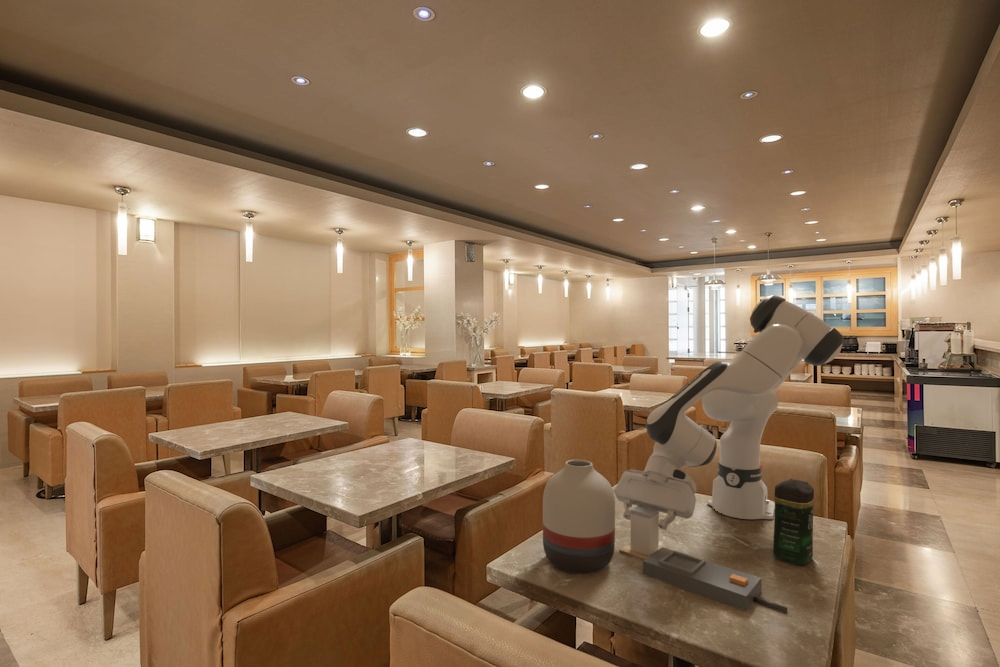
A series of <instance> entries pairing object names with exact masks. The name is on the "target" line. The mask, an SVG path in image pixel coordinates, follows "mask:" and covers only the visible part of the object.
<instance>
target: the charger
mask: <svg viewBox="0 0 1000 667" xmlns="http://www.w3.org/2000/svg"><path fill="white" fill-rule="evenodd" d="M630 511H631V520H630V543H631V550H633V551H636V552H639V553H642V554H645V555H648V556H650V555H651V554H653V553H654V552H655V551H657V550H658V546H659V545H660V544H659V539H660V538H659V529H660V527H659V526H658V524H659V523H660V522H659V521H660V518H659V517H660V516H659V514H660V511H659V509H656V508H652V507H648V506H644V505H638V506H637V505H636V506H634V507H633V508H631V509H630Z"/></svg>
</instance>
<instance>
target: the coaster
mask: <svg viewBox="0 0 1000 667" xmlns="http://www.w3.org/2000/svg"><path fill="white" fill-rule="evenodd" d="M662 547H663V548H665V547H664V546H661V545H658V550H659V549H660V548H662ZM666 548H667V547H666ZM667 549H669V548H667ZM655 552H656V551H655ZM655 552H654V553H655ZM619 553H620V554H624V555H626V556H629V557H633V558H635V559H638V560H641V561H643V560H645V559H646V558H648V557H649V556H648V555H645V554H642V553H639V552H636V551H633V550H631V542H630V543H627V544H626V545H624V546H622V547H621V548H619ZM651 555H652V554H651Z"/></svg>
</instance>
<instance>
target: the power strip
mask: <svg viewBox="0 0 1000 667" xmlns="http://www.w3.org/2000/svg"><path fill="white" fill-rule="evenodd" d="M661 547H662V548H660V549H659V550H657V551H656V552H655V553H653V554H652V555H650V556H649V557H648V558H646V559H645V560H642V575H643V574H644V576H646V575H647V577H650V578H653V579H655V580H657V581H661V582H663V583H665V584H669V585H672V586H674V587H677V588H681V589H683V590H685V591H688V592H691V593H694V594H697V595H700V596H702V597H706V598H708V599H711V600H714V601H716V602H719V603H722V604H724V605H728V606H730V607H733V608H736V609H739V610H740V611H741V610H742V611H744V612H747V611H748V610H749V609H750V607H751V606H752V605H753V603H757V604H759V605H762V606H766V607H768V608H771V609H774V610H777V611H780V612H783V613H788V611H789V610H788V607H786V606H785V605H784V606H783V605H780V604H777V603H775V602H772V601H769V600H766V599H764V598H761V597H759V596H760V594H761V593H762V577H759V576H756V575H753V574H749V573H747V572H743V571H740V570H737V569H733V568H730V567H728V566H724V565H722V564H719V563H718V564H717V563H714V562H711V561H708V560H706V559H702V558H699V557H695V556H694V555H693V556H692V555H689V554H686V553H683V552H680V551H676V550H672V549H670V548H668V549H667V547H664V546H661ZM663 547H664V548H663Z"/></svg>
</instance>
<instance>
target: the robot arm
mask: <svg viewBox="0 0 1000 667" xmlns="http://www.w3.org/2000/svg"><path fill="white" fill-rule="evenodd" d="M749 322H750V325H751V327H752V329H753V333H754V334H756V335H755V336H754V337H753V338H752V339H751V340H750V341H749V342H748V343H747V344H746V345H745V346H744V347H743V348H742V350H741V351H740V352H739V353H738V354H737V355H736V356H734V357H733V358H730V359H728V360H725V361H716V362H713V363H712V364H710V365H709V366H707V367H706V368H705V369H703V370H701V371H700V372H699V373H698V374H697V375H696V376H694V377H693V378H692V379H691V380H690V381H688V382H687V383H686V384H685V385H684V386H682V387H681V388H680V389H679V390H678V391H677V392H675V393H674V394H673V395H672V396H671V397H670V398H668V399H667V400H665V401H664V402H662V403H660V404H659V405H658V406H657V407H655V408H654V409H653V410H652V411H651V412H650V413H649V414H648V416H647V417H646V420H645V428H646V432H647V435H648V437H649V439H651V440H652V441H654V442H655V443H654V444H653V452H652V454H651V455H650V456H649V458H648V460H647V462H646V465H645V468H644V470H643V471H642V470H638V469H637V470H635V469H634V468H629V469H628V470H625V471H624V472H623V473H622V475H621V477H620V479H619V480H618V483H617V485H616V487H615V489H614V490H613V492H614V496H615V498H616V499H617V500H618V501H619V502H622V503H623V506H624V512H623V515H622V516H623V518H624V519H625V520H629V521H631V509H630V508H632V507H633V505H634V506H636V507H637V506H638V505H644V506H648V507H652V508H656V509H659V513H663V514H667V516H666V517H665V518H664V519H660V518H659V524H658V526H659V529H661V530H664V531H667V528H668V526H669V524H671V523H672V522H673V521H675V520H676V516H677V517H679V518H683V519H690V518H691V517H693V515H694V511H695V507H696V503H697V498H696V496H695V494H696V493H697V489H698V488H697V485H696V483H695V481H694V479H693V477H692V476H691V475H690V473H688V472H686V471H683V469H684V467H687V468H692V467H693V468H695V467H696V468H697V467H702V466H703V467H704V466H705V465H709V464H710V463H711V462H712V460H713V459H714V458H715V455H716V452H717V449H718V448H717V445H718V444H717V439H716V437H715V436H714V435H713V434H712V433H711V432H709V431H708V430H707V429H705V428H704V427H703V426H702V425H700V424H698V423H697V422H695V421H694V420H692V419H691V418H690V417H689V416H687V415H686V412H687V411H689V409H691V408H692V407H693V406H694V405H695V404H697V403H698V402H699V401H701V407H702V409H703V412H704V413H705V415H706V416H707V418H710V419H712V420H716V421H719V422H730V423H729V426H728V427H727V429H726V431H724V433H723V434H722V435H721V436H720V439H719V462H718V464H717V477H715V478H714V479H713V480H712V494H711V495H712V496H711V499H708V500H707V502H706V504H707V503H708V504H709V505H711V506H713V507H712V509H713V510H714V509H715V510H714V511H716V512H717V511H718V512H717V513H719V514H721V513H722V514H721V515H725V516H727V517H730V518H735V519H741V520H742V519H743V520H773V519H774V517H775V511H774V510H775V501H773V500H770V499H768V487H767V485H766V484H765V482H764V481H763V472H762V471H763V464H761V463H760V461H761V458H760V456H761V443H762V436H763V434H764V431H765V429H766V428H765V427H766V425H767V423H768V421H769V419H770V417H771V416H772V415H773V414H774V413H775V411H777V409H778V406H779V398H778V395H777V393H776V392H775V390H776V389H778V388H779V387H781V385H783V383H784V382H785V381H786V380H787V378H788V377H789V376H790V375H791V374H792V372H793V371H794V370H795V369H796V368H797V367H798V365H799V364H800V363H801V361H802V360H803V362H804V363H808V364H809V365H812V366H815V367H819V366H824V364H827V363H831V362H832V361H833V360H835V359H836V358H837V356H838V355H839V354H840V352H841V351H842V348H843V343H844V342H845V341H844V335H843V334H842V333H841V332H840V331H839V330H837V329H836V328H835V327H831V326H830V325H829V324H828V323H827V322H825V321H824V320H823V319H821V318H819V317H818V316H817V315H815V314H814V313H812V312H809V311H807V310H805V309H804V308H802V307H800V306H798V305H796V304H794V303H792V302H789V301H788V300H786V298H784V297H782V296H779V295H776V294H772V295H767V296H766V297H765V298H763V299H761V300H760V301H759V302H758V303H757V304H755V306H754V308H753V309H752V311H751V315H750V317H749ZM708 504H707V505H708ZM709 505H708V506H709ZM711 506H710V507H711ZM773 516H774V517H773Z"/></svg>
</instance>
